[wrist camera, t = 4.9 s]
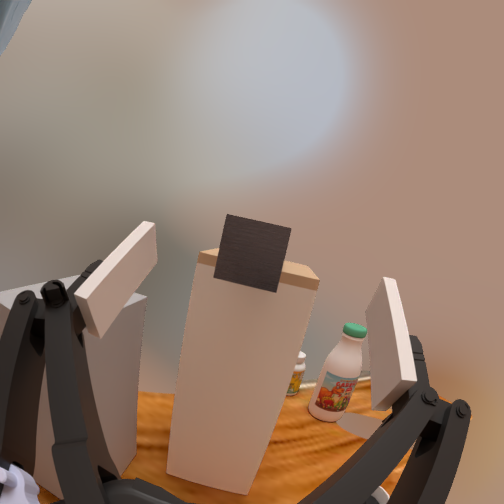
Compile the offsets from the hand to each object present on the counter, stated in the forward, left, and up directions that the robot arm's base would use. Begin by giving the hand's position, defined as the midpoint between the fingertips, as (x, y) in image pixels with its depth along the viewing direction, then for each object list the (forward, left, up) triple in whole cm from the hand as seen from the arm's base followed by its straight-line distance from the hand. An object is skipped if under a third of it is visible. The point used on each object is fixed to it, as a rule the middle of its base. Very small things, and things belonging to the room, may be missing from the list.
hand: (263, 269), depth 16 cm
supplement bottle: (+10, +42, -31) cm, 54 cm away
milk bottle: (+18, +36, -31) cm, 51 cm away
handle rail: (-1, +13, -1) cm, 13 cm away
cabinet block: (-1, +16, -31) cm, 35 cm away
